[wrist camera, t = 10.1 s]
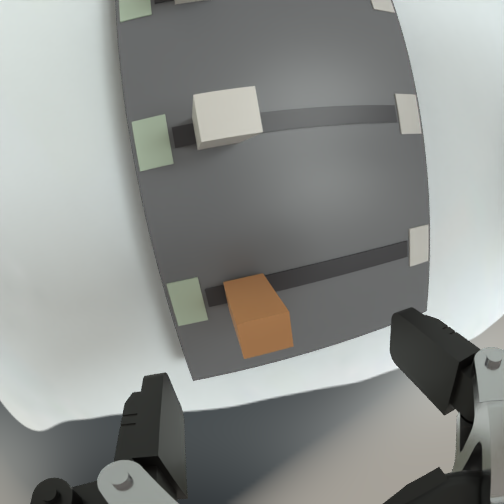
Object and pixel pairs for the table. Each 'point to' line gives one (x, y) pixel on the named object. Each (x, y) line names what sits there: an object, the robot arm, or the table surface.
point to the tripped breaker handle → (258, 316)
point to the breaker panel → (277, 165)
